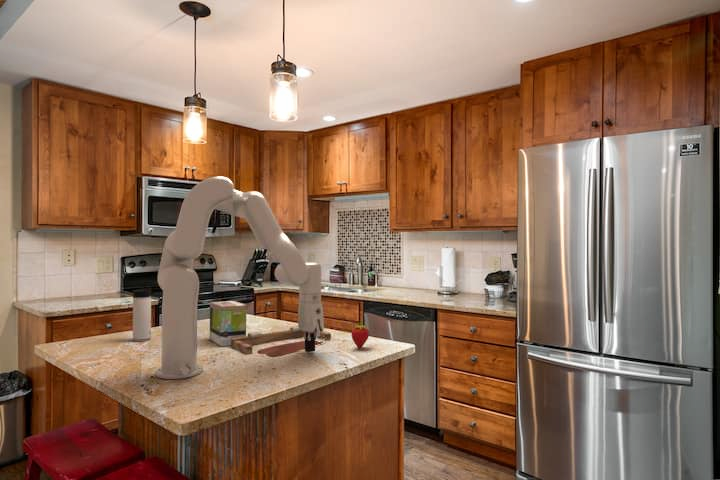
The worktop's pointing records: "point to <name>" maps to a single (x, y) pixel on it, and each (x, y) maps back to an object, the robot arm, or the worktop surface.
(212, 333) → the tea box
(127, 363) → the worktop surface
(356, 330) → the strawberry
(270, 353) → the wooden tablet
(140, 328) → the travel mug
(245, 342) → the hinge frame
